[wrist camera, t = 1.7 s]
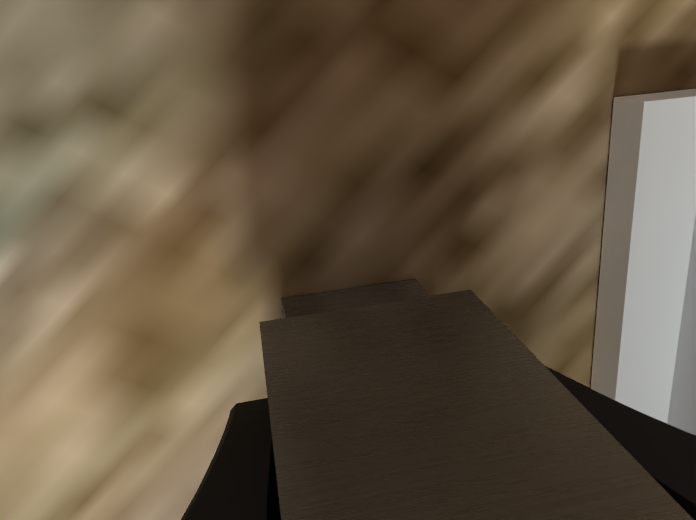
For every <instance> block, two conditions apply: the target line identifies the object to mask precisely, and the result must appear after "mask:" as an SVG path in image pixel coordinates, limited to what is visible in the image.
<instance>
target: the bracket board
mask: <svg viewBox="0 0 696 520" xmlns="http://www.w3.org/2000/svg"><path fill="white" fill-rule="evenodd" d="M591 389H592V390H594V391H597V392H599V393H601V394H603V395H605V396H607V397H609V398H611V399H613V400H615V401H617V402H619V403H622V404H624V405H626V406H628V407H630V408H632V409H635V410H637V411H639V412H641V413H643V414H646V415H648V416H650V417H653V418H655V419H657V420H660V421H662V422H664V423H667V424H669V425H671V426H674V427H676V428H679V429H681V430H683V431H686V432H688V433H691V434H693V435H696V89H687V90H678V91H669V92H659V93H650V94H641V95H631V96H622V97H614V102H613V114H612V127H611V139H610V152H609V164H608V177H607V189H606V202H605V214H604V227H603V239H602V252H601V265H600V277H599V290H598V302H597V315H596V327H595V340H594V352H593V365H592V377H591Z"/></svg>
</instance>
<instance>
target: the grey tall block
mask: <svg viewBox="0 0 696 520" xmlns="http://www.w3.org/2000/svg"><path fill="white" fill-rule="evenodd" d="M281 300H282V308H283V316H284V318H283V319H276V320H270V321H263V322H259V323H260V332H261V341H262V350H263V359H264V368H265V377H266V386H267V395H268V404H269V413H270V422H271V432H272V441H273V450H274V459H275V468H276V477H277V486H278V495H279V504H280V513H281V520H694V519H693V518H692V517H691V516H690V515H689V514H688V513H687V512H686V511H685V510H684V509H683V508H682V507H681V506H680V505H679V504H678V503H677V502H676V501H675V500H674V499H673V498H672V497H671V496H670V495H669V494H668V493H667V492H666V490H665V489H664V488H663V487H662V486H661V485H660V484H659V483H658V482H657V481H656V480H655V479H654V478H653V477H652V476H651V475H650V474H649V473H648V472H647V471H646V470H645V469H644V468H643V467H642V466H641V465H640V464H639V463H638V462H637V461H636V460H635V459H634V458H633V456H632V455H631V454H630V453H629V452H628V451H627V450H626V449H625V448H624V447H623V446H622V445H621V444H620V443H619V442H618V441H617V440H616V439H615V438H614V437H613V436H612V435H611V434H610V433H609V432H608V431H607V430H606V429H605V428H604V427H603V426H602V425H601V424H600V422H599V421H598V420H597V419H596V418H595V417H594V416H593V415H592V414H591V413H590V412H589V411H588V410H587V409H586V408H585V407H584V406H583V405H582V404H581V403H580V402H579V401H578V400H577V399H576V398H575V397H574V396H573V395H572V394H571V393H570V392H569V391H568V390H567V388H566V387H565V386H564V385H563V384H562V383H561V382H560V381H559V380H558V379H557V378H556V377H555V376H554V375H553V374H552V373H551V372H550V371H549V370H548V369H547V368H546V367H545V366H544V365H543V364H542V363H541V362H540V361H539V360H538V359H537V358H536V357H535V356H534V354H533V353H532V352H531V351H530V350H529V349H528V348H527V347H526V346H525V345H524V344H523V343H522V342H521V341H520V340H519V339H518V338H517V337H516V336H515V335H514V334H513V333H512V332H511V331H510V330H509V329H508V328H507V327H506V326H505V325H504V324H503V323H502V322H501V320H500V319H499V318H498V317H497V316H496V315H495V314H494V313H493V312H492V311H491V310H490V309H489V308H488V307H487V306H486V305H485V304H484V303H483V302H482V301H481V300H480V299H479V298H478V297H477V296H476V295H475V294H474V293H473V292H472V291H471V290H466V291H459V292H453V293H446V294H440V295H433V296H429V295H428V294H427V293H426V291H425V290H424V289H423V288H422V286H421V285H420V284H419V282H418V281H417V280H416V279H410V280H404V281H397V282H390V283H383V284H377V285H370V286H363V287H356V288H350V289H343V290H336V291H329V292H323V293H316V294H309V295H302V296H296V297H289V298H282V299H281Z"/></svg>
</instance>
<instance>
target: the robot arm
mask: <svg viewBox="0 0 696 520" xmlns="http://www.w3.org/2000/svg"><path fill="white" fill-rule="evenodd" d="M545 367H546V366H545ZM546 368H547V369H548V370H549V371H550V372H551V373H552V374H553V375H554V376H555V377H556V378H557V379H558V380H559V381H560V382H561V383H562V384H563V385H564V386H565V387H566V388H567V390H568V391H569V392H570V393H571V394H572V395H573V396H574V397H575V398H576V399H577V400H578V401H579V402H580V403H581V404H582V405H583V406H584V407H585V408H586V409H587V410H588V411H589V412H590V413H591V414H592V415H593V416H594V417H595V418H596V419H597V420H598V421H599V422H600V424H601V425H602V426H603V427H604V428H605V429H606V430H607V431H608V432H609V433H610V434H611V435H612V436H613V437H614V438H615V439H616V440H617V441H618V442H619V443H620V444H621V445H622V446H623V447H624V448H625V449H626V450H627V451H628V452H629V453H630V454H631V455H632V456H633V458H634V459H635V460H636V461H637V462H638V463H639V464H640V465H641V466H642V467H643V468H644V469H645V470H646V471H647V472H648V473H649V474H650V475H651V476H652V477H653V478H654V479H655V480H656V481H657V482H658V483H659V484H660V485H661V486H662V487H663V488H664V489H665V490H666V492H667V493H668V494H669V495H670V496H671V497H672V498H673V499H674V500H675V501H676V502H677V503H678V504H679V505H680V506H681V507H682V508H683V509H684V510H685V511H686V512H687V513H688V514H689V515H690V516H691V517H692V518H693V519H694V520H696V435H693V434H691V433H688V432H686V431H683V430H681V429H679V428H676V427H674V426H671V425H669V424H667V423H664V422H662V421H660V420H657V419H655V418H653V417H650V416H648V415H646V414H643V413H641V412H639V411H637V410H635V409H632V408H630V407H628V406H626V405H624V404H622V403H619V402H617V401H615V400H613V399H611V398H609V397H607V396H605V395H603V394H601V393H599V392H597V391H594V390H592V389H590V388H588V387H586V386H584V385H582V384H580V383H578V382H576V381H574V380H572V379H570V378H568V377H566V376H564V375H562V374H560V373H558V372H556V371H554V370H552V369H550V368H548V367H546ZM181 520H281V513H280V504H279V495H278V486H277V477H276V468H275V459H274V450H273V441H272V432H271V422H270V413H269V404H268V398H266V399H260V400H254V401H248V402H243V403H237V404H236V405H235V406H234V407H233V408H232V409H231V411H230V415H229V419H228V422H227V425H226V428H225V430H224V433H223V436H222V438H221V441H220V443H219V445H218V448H217V450H216V453H215V455H214V457H213V459H212V461H211V463H210V465H209V468H208V470H207V472H206V474H205V476H204V478H203V480H202V482H201V484H200V486H199V488H198V490H197V492H196V494H195V496H194V497H193V499H192V501H191V503H190V505H189V506H188V508H187V510H186V512H185V513H184V515H183V517H182V519H181Z"/></svg>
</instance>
